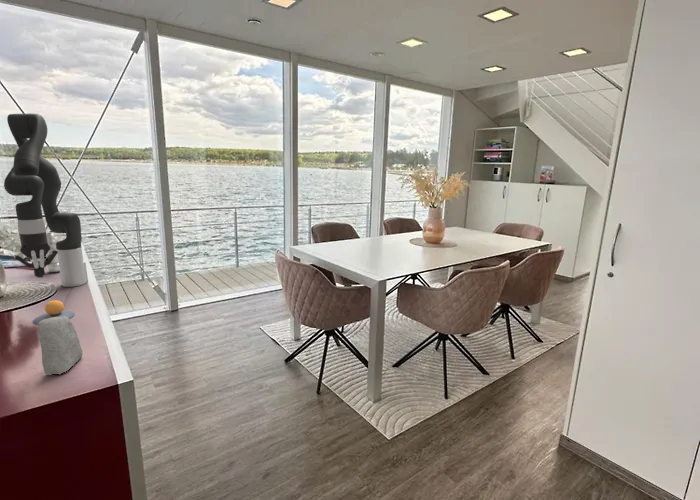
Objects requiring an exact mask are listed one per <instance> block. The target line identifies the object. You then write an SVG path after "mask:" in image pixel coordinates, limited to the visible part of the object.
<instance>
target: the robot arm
mask: <svg viewBox="0 0 700 500" xmlns="http://www.w3.org/2000/svg"><path fill="white" fill-rule="evenodd" d="M6 120H7V125H8V127H9V130H10V133H11V135H12V136H13V139H14V140H15V143H16V145H17V150H16V152H15V154H14V157H13V165H12V168H11V169H10V171H9V172H8V173H7V175H6V176H5V178H4V183H3V187H4V189H5V191H6V193H8V194H9V195H11V196H15V197H16V196H17V197H23V196H30V197H31V199H30V200H28V201H23V202H19V203H16V204H15V213H16V218H17V232H18V235H19V236H18V237H19V241H20V249H19V251H20V252H18V253H17V254H14V255H13V258H14V259H16V260H17V261H18V262H20V263H22V265H24V266H26V267H27V268H29V269H30V268H32V270H33V274H34V276H35V277H37V278H38V279H40V278H44V276H46V272H45V267H47V265H49V264H50V263H51V261H52V260H53V259H54V257H55V256H56V255H57V257H58V263H59V269H60V271H59V275H60V281H61V286H62V287H64V288H65V287H67V288H69V287H71V288H72V287H79V286H82V285H85V284H86V283H87V282H89V278H88V271H87V263H86V261H84V256H83V255H84V254H83V249H82V240H83V239H82V237H83V236H82V225H81V219H80V217H79V215H78V214H77V213H75V212H60V210H59V208H58V205H57V199H58V196H59V194H60V191H61V189H62V181H61V178H60V174H59V172H58V170H57V168H56V166H54V164H53V163H51V162H50V161H49V160H48V159H46V158H45V157H44V156H42V155H41V154H42V151H43V148H44V145H45V142H46V139H47V136H48V125H47V122H46V120H45V118H44V117H43V116H42V115H41V114H39V113H33V112H32V113H31V112H30V113H10V114H8V115H7V117H6ZM43 214H44V215H43ZM43 217H44V218H45V221H44V218H43ZM45 222H46V223H45ZM46 225H47V227H48V229H49V230H50V231H51V233H54V234H65V235H66V236H65V239H62V240H59V241H58V242H57V243H56V250H57V251H56V250H53V249H51V248H50V246H49V245H48V241H47V235H46V233H47V231H46V230H47V229H46ZM48 251H49V256H48V257H47V258H45V257H46V254H47V253H48ZM25 257H26V258H28V259H29V260H30V262H31V263H30V262H28V261H26V259H25Z"/></svg>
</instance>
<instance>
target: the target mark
mask: <svg viewBox="0 0 700 500" xmlns="http://www.w3.org/2000/svg"><path fill="white" fill-rule="evenodd" d="M75 315H76V314H75V312H74V311H70V310H63V311H62V312H61V313H60V314H57V315H50V314H48V313H43V314H42V315H39V316H37V317H36V318H34V319H33V320H32V323H33V324H35V325H38V323H39V322H40V321H42V320H44V319H48V318H53V317H60V316H66V317H67V318H68V319H69V320H70V319H72V318H73V317H74V316H75Z"/></svg>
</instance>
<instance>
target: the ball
mask: <svg viewBox="0 0 700 500" xmlns="http://www.w3.org/2000/svg"><path fill="white" fill-rule="evenodd" d="M64 309H65V306H64V303H63V302H62V301H60V300H57V299H54V300H50V301H48V302H47V303H46V304H45V306H44V310H45V312H46V314H50V315H57V314H60V313H61V312H62V311H64Z"/></svg>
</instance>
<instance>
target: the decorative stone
mask: <svg viewBox="0 0 700 500" xmlns="http://www.w3.org/2000/svg"><path fill="white" fill-rule="evenodd" d="M37 331H38V339H39V343H40V344H39V345H40V348H41V364H42V369H43V372H44V375H45V374H46V375H45V376H47V375H50V374H59V375H61V374H60V373H63V372H65V371H67V370H69V369H70V368H71V367H72V366H73V367H74V366H75V365H76V364H75V363H76V362H77V363H78V361H79V360H81V358H82V357H83V349H82V346H81V343H80V339H79V335H78V334H77V330H76V328H75V325H74V324H73V322H72V321H71V320H70V319H68V318H67V317H66V316H60V317H53V318H48V319H44V320H42V321H40V322H39V323H38V324H37ZM73 367H72V368H73ZM72 368H71V369H72ZM71 369H70V370H71ZM70 370H69V371H70ZM67 372H68V371H67ZM65 373H66V372H65ZM63 374H64V373H63Z"/></svg>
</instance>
